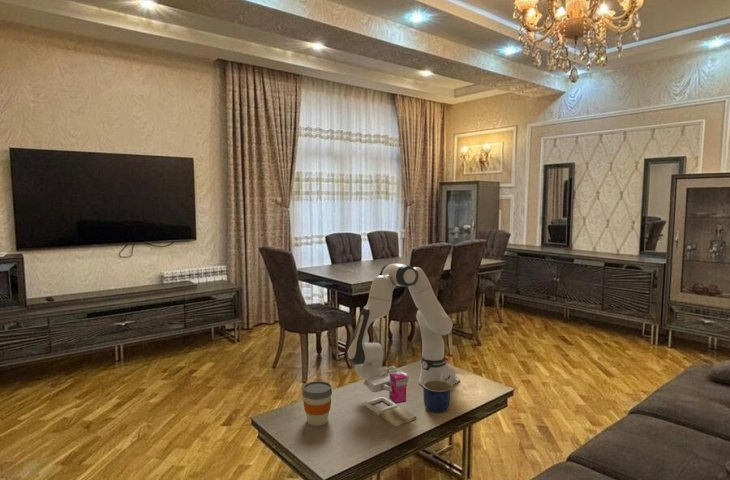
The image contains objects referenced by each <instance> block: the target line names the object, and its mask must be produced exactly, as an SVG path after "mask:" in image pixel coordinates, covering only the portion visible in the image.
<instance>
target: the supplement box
mask: <svg viewBox="0 0 730 480" xmlns="http://www.w3.org/2000/svg"><path fill="white" fill-rule="evenodd" d="M389 386H392V387H394V391H392V392H390V391H389V392H388V398H389V399H388V400H390V401H392V402H393V403H395V404H397V405H398V404H400V403H406V402H407V387H408V382H407V377H406V376H405V375H404V374H402V373H401V372H398V373H393V374H390V381H389ZM406 386H407V387H406Z"/></svg>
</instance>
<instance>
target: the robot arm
mask: <svg viewBox="0 0 730 480" xmlns="http://www.w3.org/2000/svg"><path fill="white" fill-rule="evenodd" d="M396 287H402V288H403V287H404V288H405V287H406V288H408V291H409V293H410V296H411V298H412V301H413V302H414V304H415V307H416V308H417V309H418V310H417V311H416V314H415V315H416V316H415V317H416V320H417V322H418V326H419V330H420V337H421V340H422V341H421V343H422V349H421V351H422V354H421V357H420V358H421V360H420V362H421V366H420V373H419V374H420V375H419V377H418V378H419V379H418V384H419V385H420V386H421V387H423V385H424V383H425V382H427V381H430V380H440V381H444V382H447V383H448V384H450V386H451V387H453V386H454V385H456V384H458V383H459V382H458V381H461V379H460V377H458V376H456V371H455V368H454V367H452V366H451V365H450V364H449V363H447V362H449V361H450V360H451V359H450V357H449V356H445V342H444V339H443V336H446V335H448V334H449V333H451V331H452V329H453V326H454V325H453V321H452V319H451V318H450V316H448V314H447V312H446V311H445V309H444V308H443V306H442V305H441V302H440V301H439V300H438V298H437V296H436V295H435V291H434V290H433V288H432V284H431V283H430V281H429V278H428V277H427V275H426V274H425V272H424V270H423V269H422V268H421V267H419V266H411V265H410V264H404V263H399V262H398V263H396V262H395V263H394V262H391V263H386V264H384V265H383V266H382V268H381V269H380V272H379V273H378V275H376V276H375V277H374V278H373V279H372V282H371V286H370V289H369V293H368V299H367V303H366V305H365V306H364V308H363V309H362V310H361V311H360V313H359V315H358V318H357V322H356V325H355V329H354V332H353V336H352V339H351V341H350V343H349V346H348V347H347V358H348V360H349V362H350V363H352V364H353V365H354V370H355V373H356V374H357V375H358V376H359V377H360V378H362V379H363V380H364V381H363V383H362V384H363V385H364V386H366V387H367V389H368V390H369V391H371V392H372V393H379V392H383V391H387V392H388V391H390V392H392V391H394V387H392V386H389V381H390V374H393V373H398V372H401V373H402V374H404V375H405V376H406V377H407V383H409V374H408V373H407V372H406V371H403V370H401V369H399V368H398V369H397V368H396V366H392V365H391V366H382V365H383V363H384V360H385V354H386V353H385V349H384V346H383V345H382V344H381V343H379V342H365V339H366V335H367V332H368V329H369V326H370V325H371V324H372V323H373V322H375V321H376V320H379V319H381V318H384V317H385V316H386V315H387V314H389V312H390V310H391V307H392V302H393V301H392V300H393V292H394V289H395V288H396ZM457 382H458V383H457ZM455 383H456V384H455ZM453 384H454V385H453ZM452 385H453V386H452ZM407 387H408V385H407V386H406V388H407Z"/></svg>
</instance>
